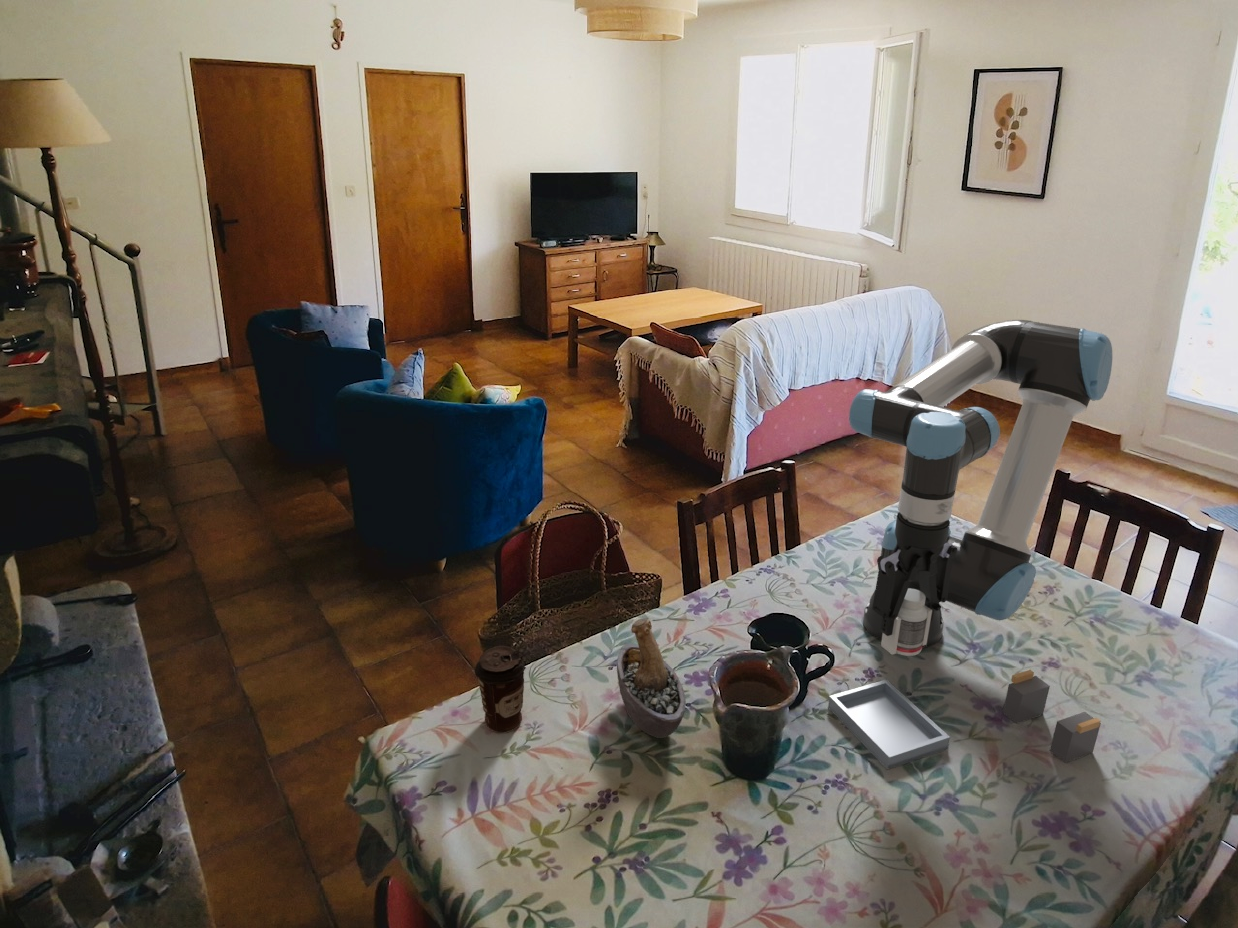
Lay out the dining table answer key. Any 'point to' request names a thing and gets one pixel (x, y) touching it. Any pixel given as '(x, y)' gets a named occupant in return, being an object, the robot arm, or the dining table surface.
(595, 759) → the dining table surface
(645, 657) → the planter
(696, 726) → the dining table surface
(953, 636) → the dining table surface
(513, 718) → the drink can
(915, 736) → the tray
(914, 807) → the dining table surface
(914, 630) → the pill bottle
